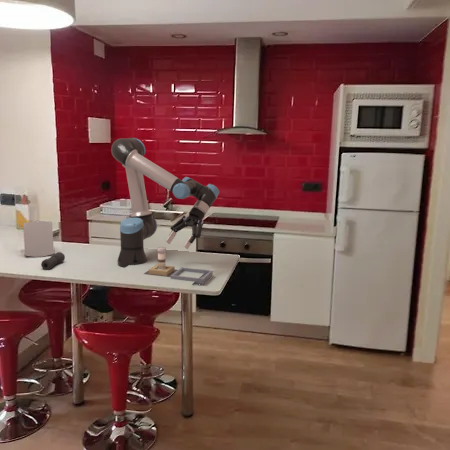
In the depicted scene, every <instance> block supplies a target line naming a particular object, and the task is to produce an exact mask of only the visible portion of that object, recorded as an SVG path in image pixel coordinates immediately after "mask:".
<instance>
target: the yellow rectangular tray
mask: <svg viewBox="0 0 450 450" xmlns="http://www.w3.org/2000/svg"><path fill="white" fill-rule="evenodd" d="M165 266H166V270H159V269H158V263H157V264H155V265H154V266H152V267H151V268H149V269H148V270H147V271H145V272H144V273H143V275H147V276H157V277H166V278H171V275H172V274H173V273H175V272H176V271H177V270H178V269H175V266H174V265H166V264H165Z"/></svg>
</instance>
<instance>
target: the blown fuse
mask: <svg viewBox="0 0 450 450" xmlns="http://www.w3.org/2000/svg"><path fill="white" fill-rule="evenodd" d="M156 250H157V264H158V269H159V270H166V266H165V265H166V261H167V260H166V252H167V251H166V250H167V248H166V247H165V246H158V247H157V249H156Z"/></svg>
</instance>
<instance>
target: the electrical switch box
mask: <svg viewBox="0 0 450 450" xmlns="http://www.w3.org/2000/svg"><path fill="white" fill-rule="evenodd" d="M22 228H23V242H24V243H23V245H24V255H25V256H26V257H34V258H35V257H36V258H41V257H46V256H49V255H50V256H52V255H54V254H55V252H54V251H55V250H54V230H53V222H52V221H45V220H34V221H33V220H32V221H29V222H24V223H23V226H22Z"/></svg>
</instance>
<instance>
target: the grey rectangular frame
mask: <svg viewBox="0 0 450 450" xmlns="http://www.w3.org/2000/svg"><path fill="white" fill-rule="evenodd" d="M176 270H177V271H176V272H175V273H173V274H172V275H171V277H170V280H177V281H184V282H185V281H186V282H193V283H192V285H193V284H200V285H199V286H202V285H203V286H204V285H206V284H207V281H208V280H209V279H210V278H211V277H212V276H213V275H214V274H213V272H214V271H213V270H208V269H201V268H200V269H199V268H191V267H180V268H179V269H176ZM183 272H186V273H187V272H188V273H197V274H202V275H200V276H199V277H192V276H183V275H180V274H181V273H183ZM212 278H213V277H212ZM212 278H211V279H212ZM211 279H210V280H211ZM208 282H209V281H208Z"/></svg>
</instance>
